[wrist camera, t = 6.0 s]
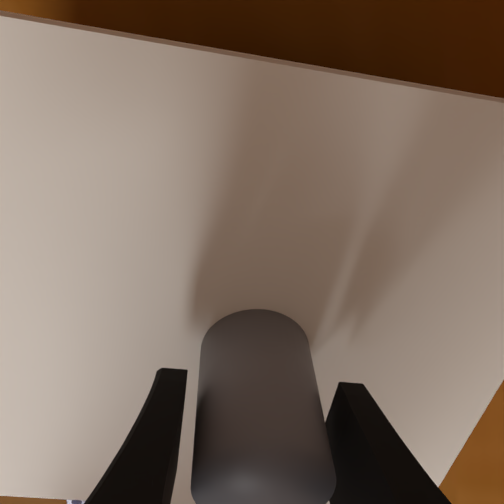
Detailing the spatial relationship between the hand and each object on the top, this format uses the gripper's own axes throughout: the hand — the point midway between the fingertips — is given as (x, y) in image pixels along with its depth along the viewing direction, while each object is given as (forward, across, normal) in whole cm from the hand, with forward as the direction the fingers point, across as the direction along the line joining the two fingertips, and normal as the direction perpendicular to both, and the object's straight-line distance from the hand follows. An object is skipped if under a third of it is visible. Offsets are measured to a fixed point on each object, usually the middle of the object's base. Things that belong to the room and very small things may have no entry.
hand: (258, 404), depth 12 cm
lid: (+2, 0, 0) cm, 2 cm away
